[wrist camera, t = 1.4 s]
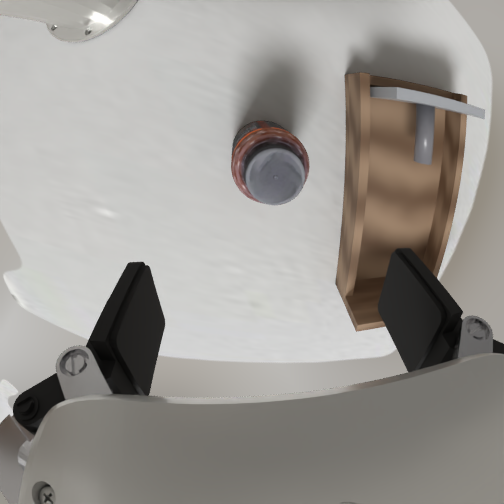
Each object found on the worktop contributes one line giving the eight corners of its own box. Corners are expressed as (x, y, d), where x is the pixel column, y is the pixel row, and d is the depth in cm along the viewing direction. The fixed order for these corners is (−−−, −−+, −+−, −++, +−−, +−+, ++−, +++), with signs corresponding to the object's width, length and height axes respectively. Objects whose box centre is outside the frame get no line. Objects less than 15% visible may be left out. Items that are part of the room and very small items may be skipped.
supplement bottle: (224, 165, 28) (216, 203, 19) (244, 112, 26) (246, 118, 16) (278, 183, 30) (298, 229, 20) (299, 132, 27) (333, 152, 17)
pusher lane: (344, 74, 23) (385, 68, 16) (446, 93, 24) (497, 101, 16) (335, 283, 37) (356, 331, 29) (420, 273, 37) (450, 312, 29)
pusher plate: (362, 87, 23) (396, 87, 17) (444, 101, 23) (484, 109, 17) (362, 151, 27) (393, 169, 21) (441, 157, 27) (478, 175, 21)
